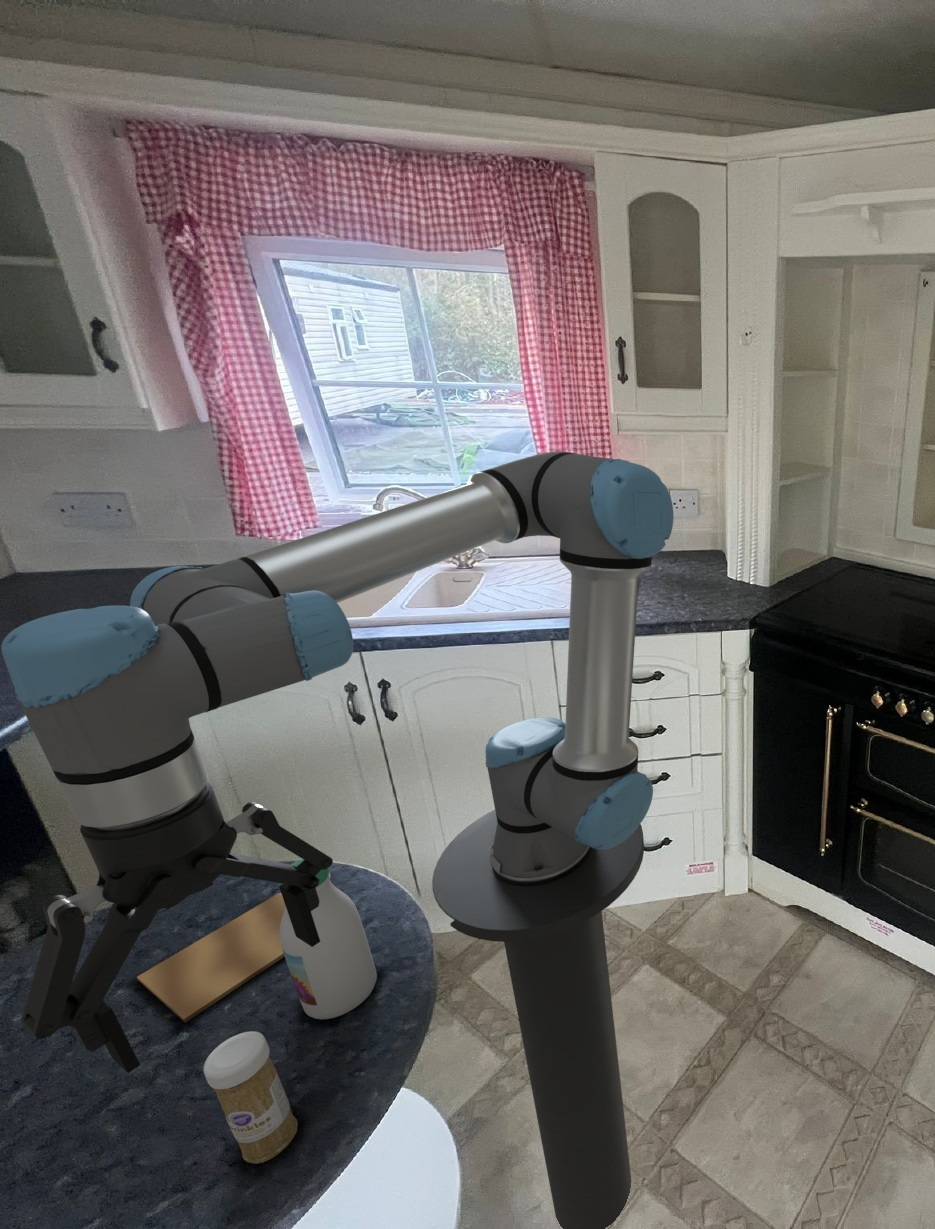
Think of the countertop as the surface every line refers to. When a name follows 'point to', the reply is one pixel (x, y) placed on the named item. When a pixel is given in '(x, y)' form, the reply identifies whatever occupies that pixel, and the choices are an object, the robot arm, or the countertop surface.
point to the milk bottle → (330, 955)
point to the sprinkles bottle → (251, 1096)
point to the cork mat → (219, 961)
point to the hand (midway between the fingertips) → (226, 994)
